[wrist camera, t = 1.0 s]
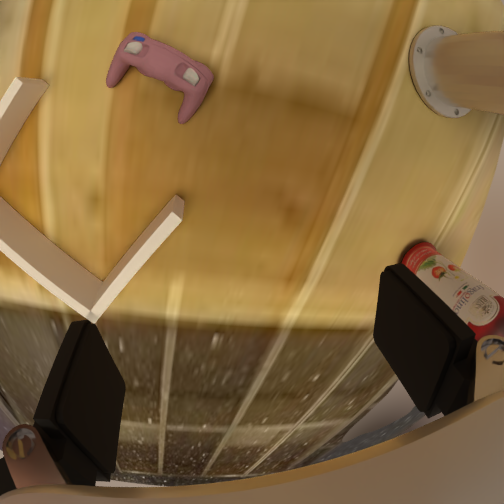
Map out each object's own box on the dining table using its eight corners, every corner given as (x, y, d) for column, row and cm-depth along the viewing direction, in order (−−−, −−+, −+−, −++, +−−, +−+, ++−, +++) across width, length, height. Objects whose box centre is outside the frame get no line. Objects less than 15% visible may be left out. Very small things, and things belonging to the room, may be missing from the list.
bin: (42, 79, 24) (15, 76, 19) (184, 201, 33) (182, 220, 28) (-20, 188, 27) (-47, 203, 22) (105, 294, 36) (94, 323, 31)
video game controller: (206, 96, 30) (227, 63, 24) (184, 130, 30) (202, 101, 23) (126, 56, 27) (131, 16, 20) (101, 88, 26) (99, 50, 20)
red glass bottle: (423, 226, 40) (579, 349, 15) (438, 260, 43) (568, 378, 18) (385, 261, 41) (527, 411, 16) (404, 291, 44) (523, 428, 19)
